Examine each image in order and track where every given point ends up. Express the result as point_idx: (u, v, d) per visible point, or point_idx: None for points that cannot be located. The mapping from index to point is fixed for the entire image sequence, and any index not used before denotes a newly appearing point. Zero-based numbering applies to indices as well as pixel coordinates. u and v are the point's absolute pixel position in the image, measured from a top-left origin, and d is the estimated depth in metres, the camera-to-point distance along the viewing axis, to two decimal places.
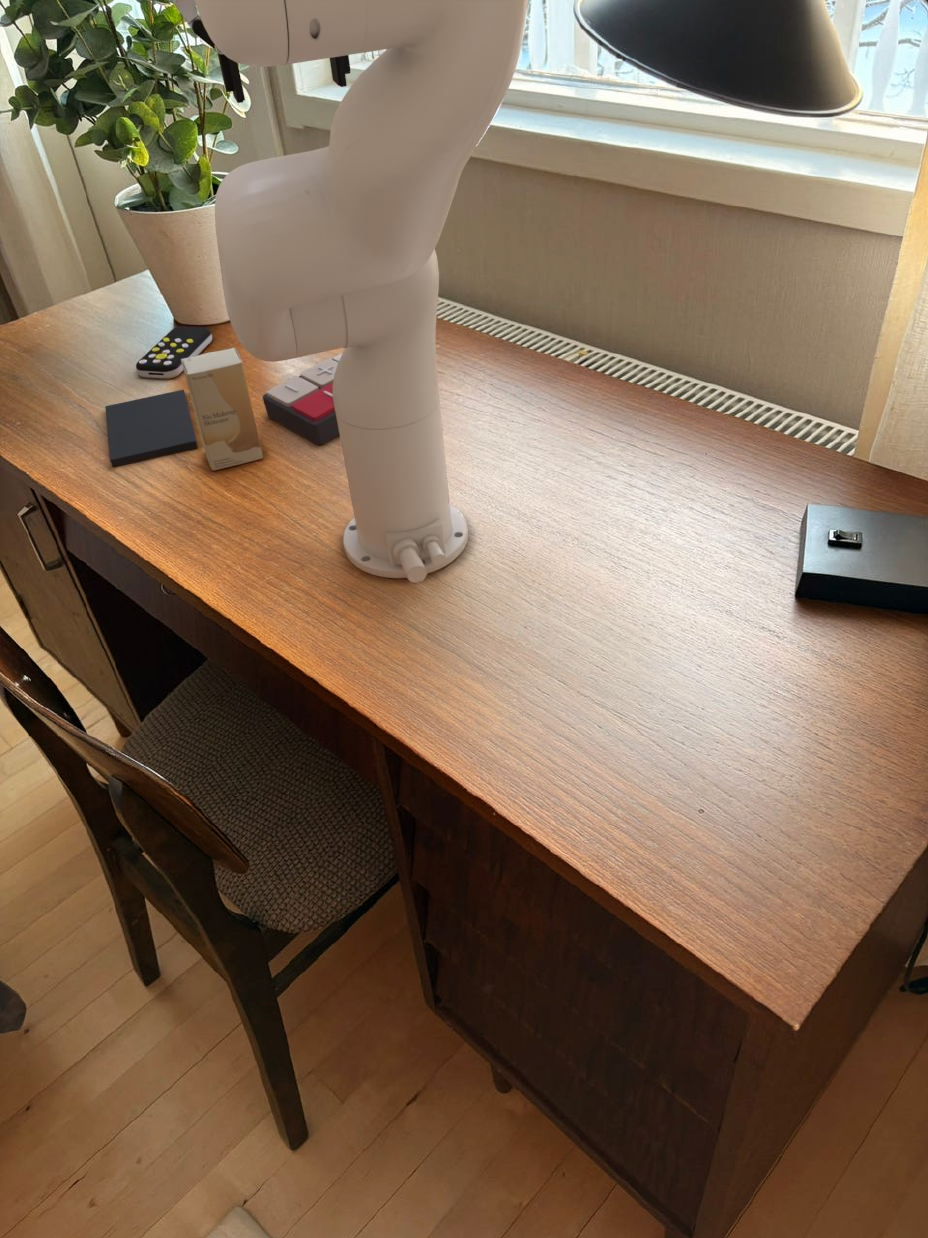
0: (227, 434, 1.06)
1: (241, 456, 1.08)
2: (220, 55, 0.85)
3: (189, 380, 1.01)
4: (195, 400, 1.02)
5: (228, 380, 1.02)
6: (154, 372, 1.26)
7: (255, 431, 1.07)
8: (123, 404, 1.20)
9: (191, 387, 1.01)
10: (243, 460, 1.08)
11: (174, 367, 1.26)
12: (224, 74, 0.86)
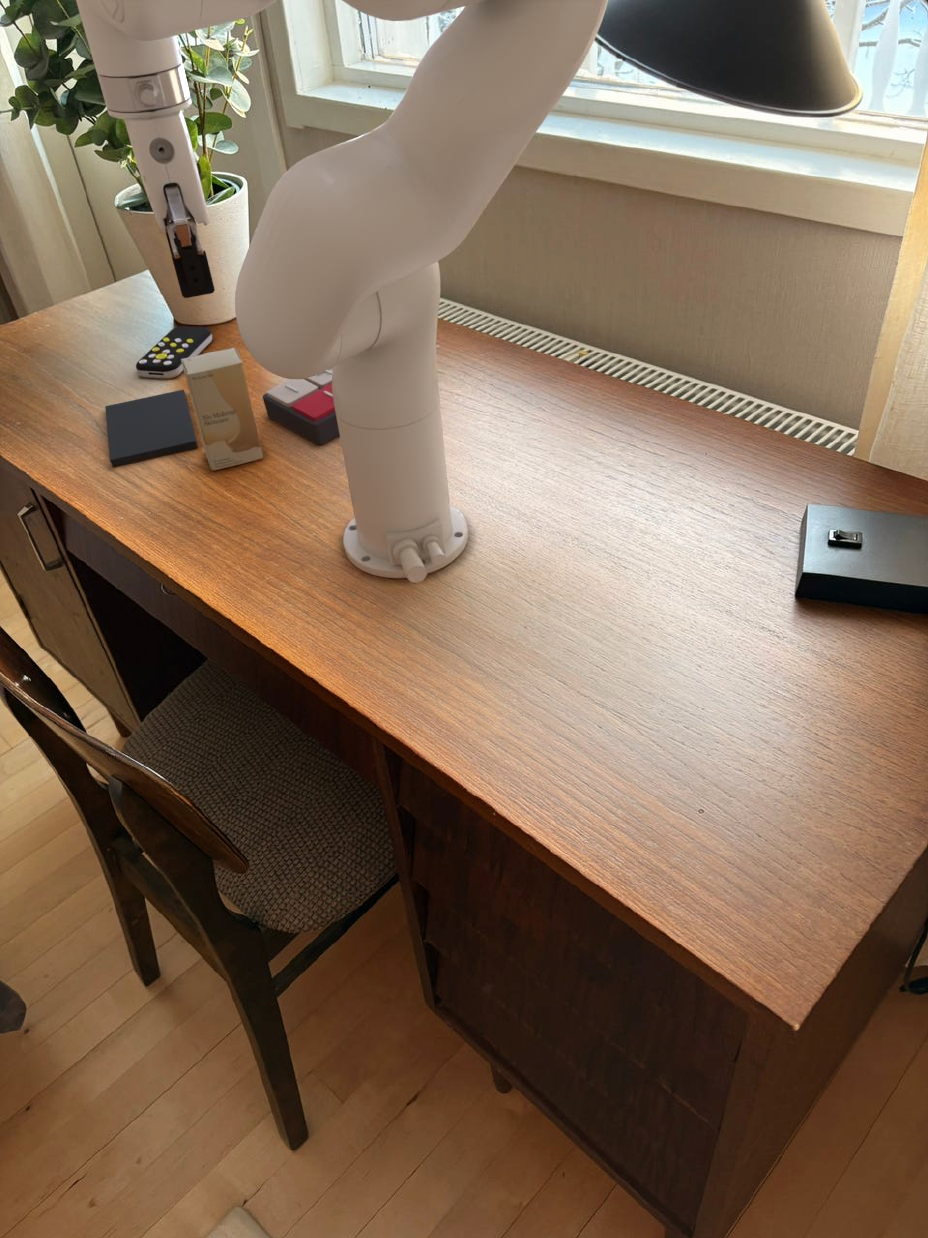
0: (227, 434, 1.06)
1: (241, 456, 1.08)
2: (198, 257, 0.90)
3: (189, 380, 1.01)
4: (195, 400, 1.02)
5: (228, 380, 1.02)
6: (154, 372, 1.26)
7: (255, 431, 1.07)
8: (123, 404, 1.20)
9: (191, 387, 1.01)
10: (243, 460, 1.08)
11: (174, 367, 1.26)
12: (202, 273, 0.91)
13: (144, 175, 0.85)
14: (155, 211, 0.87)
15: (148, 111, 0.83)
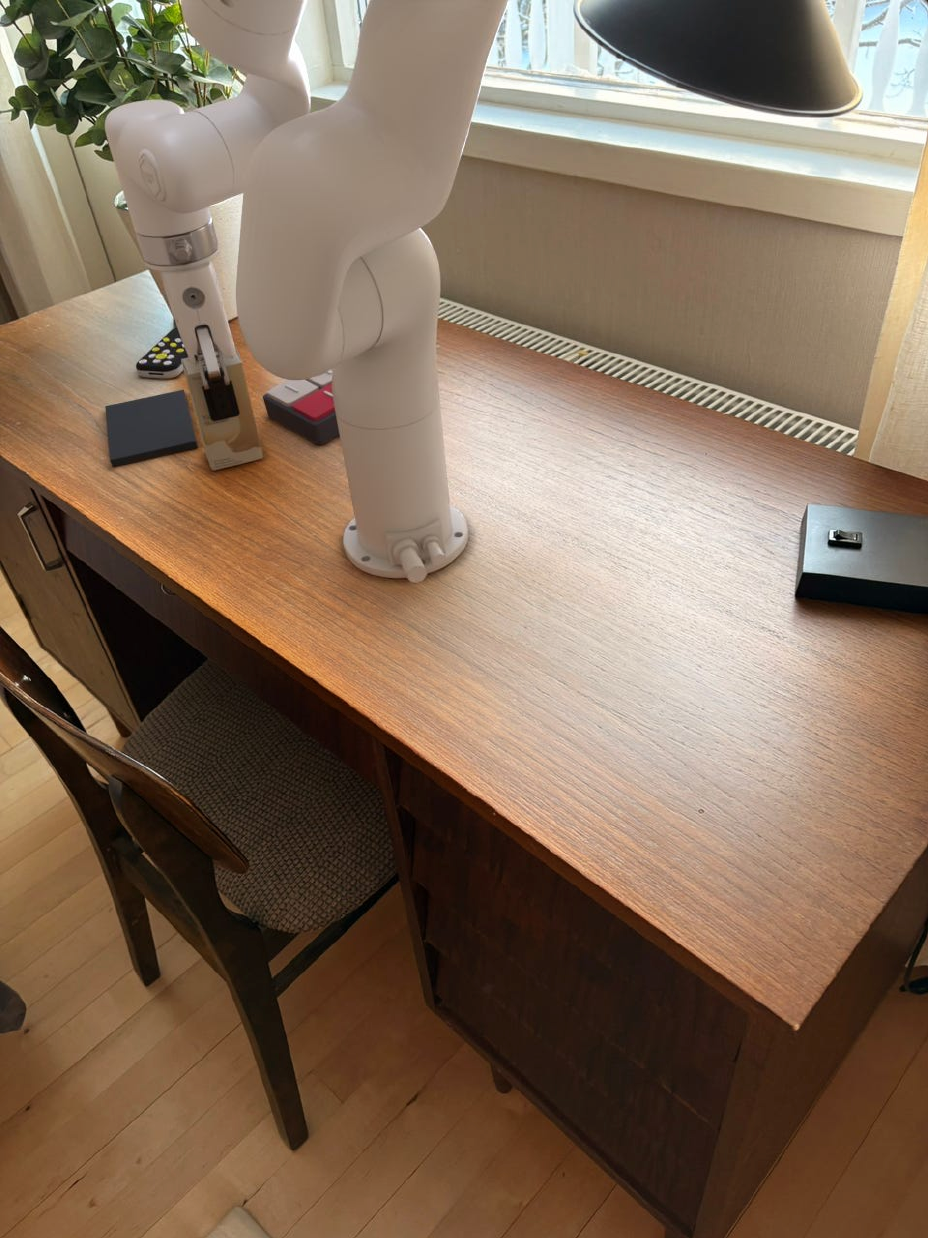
0: (227, 434, 1.06)
1: (241, 456, 1.08)
2: (225, 387, 1.01)
3: (189, 380, 1.01)
4: (195, 400, 1.02)
5: None
6: (154, 372, 1.26)
7: (255, 431, 1.07)
8: (123, 404, 1.20)
9: (191, 387, 1.01)
10: (243, 460, 1.08)
11: (174, 367, 1.26)
12: (228, 400, 1.02)
13: (177, 319, 0.94)
14: (187, 349, 0.96)
15: (181, 264, 0.92)
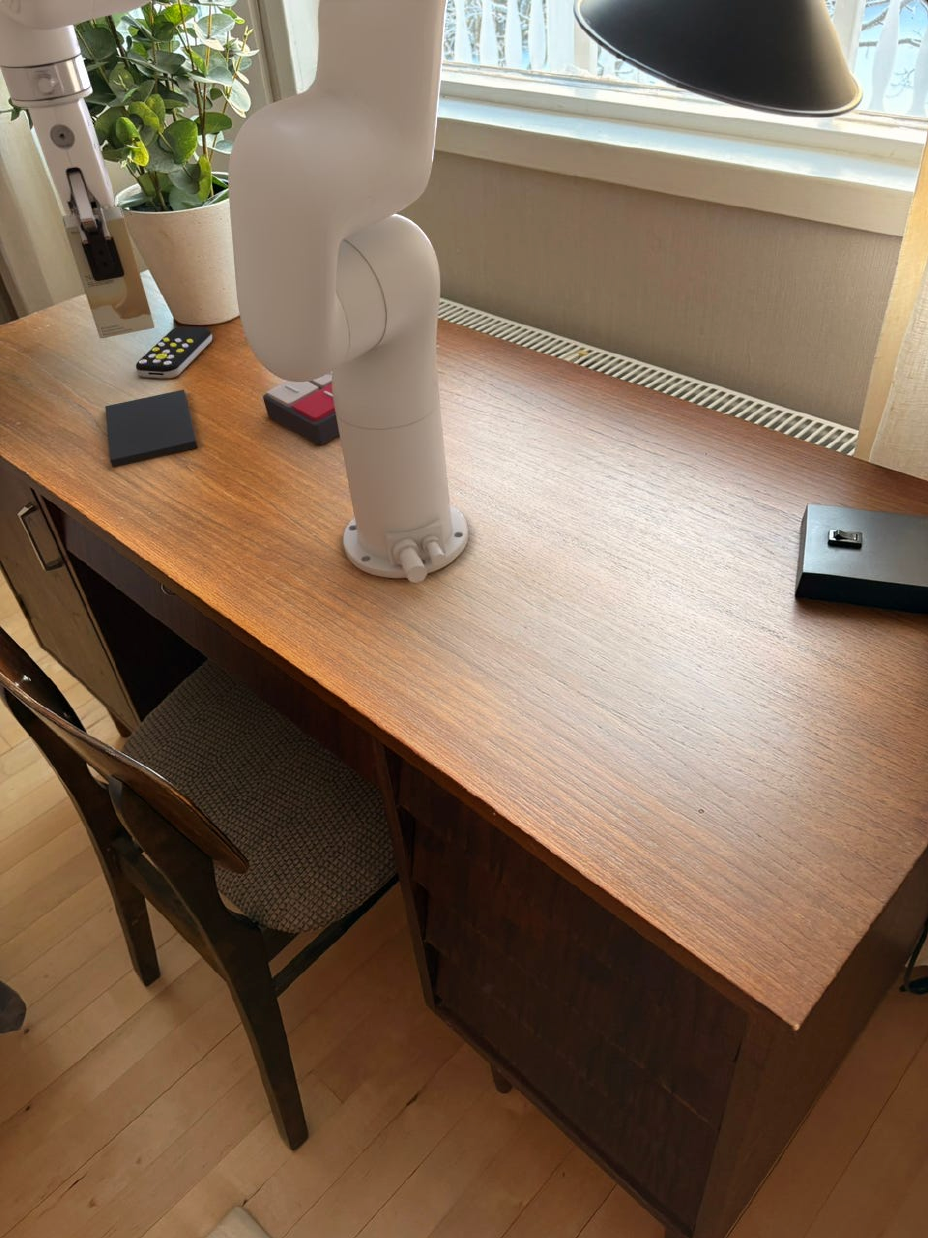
0: (114, 298, 1.02)
1: (131, 324, 1.04)
2: (106, 243, 0.97)
3: (68, 234, 0.97)
4: (76, 257, 0.98)
5: None
6: (154, 372, 1.26)
7: (144, 296, 1.03)
8: (123, 404, 1.20)
9: (71, 242, 0.97)
10: (133, 328, 1.05)
11: (174, 367, 1.26)
12: (110, 257, 0.98)
13: (47, 160, 0.90)
14: (59, 195, 0.92)
15: (48, 99, 0.88)
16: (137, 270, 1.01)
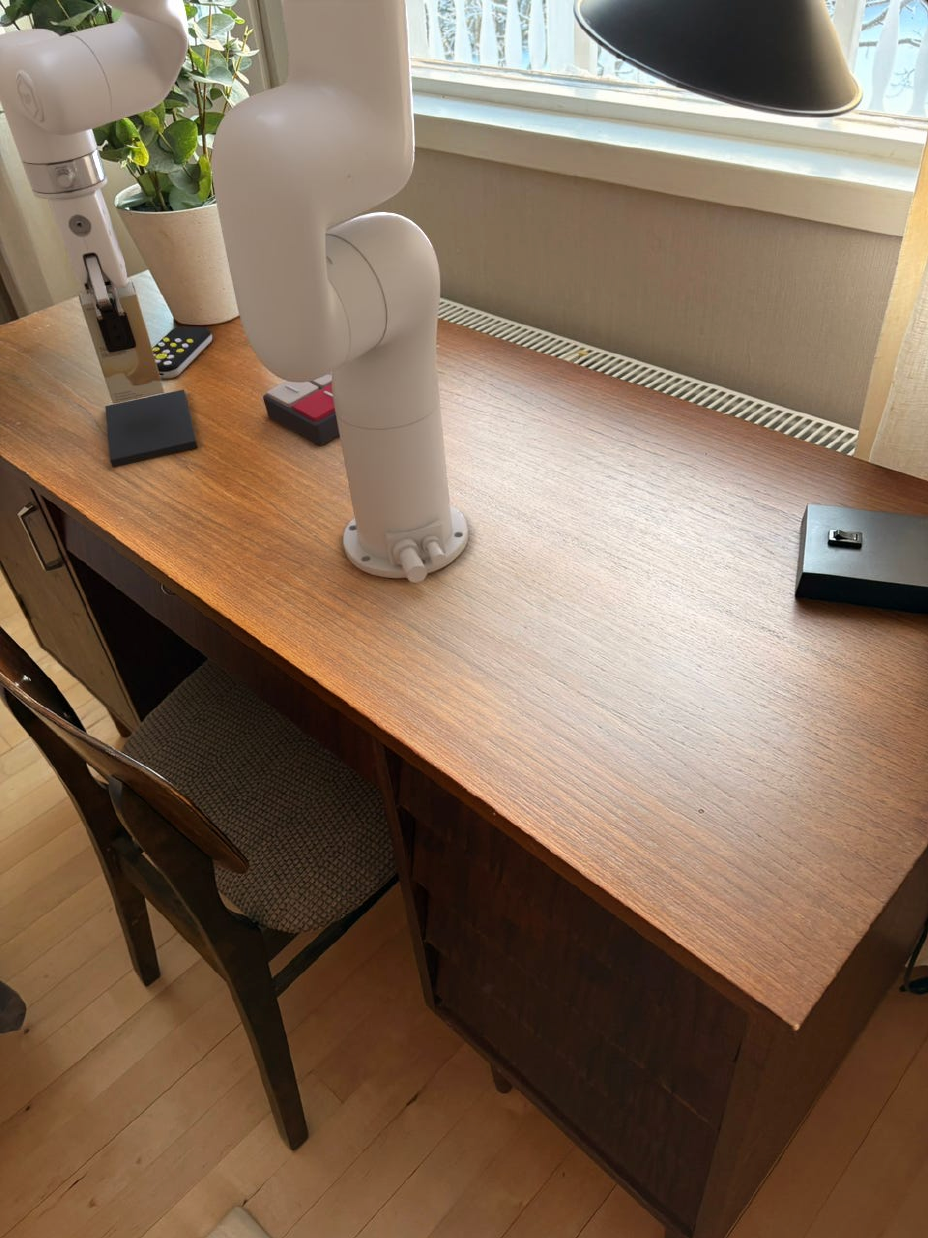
0: (126, 367, 1.09)
1: (142, 390, 1.11)
2: (119, 318, 1.04)
3: (84, 311, 1.03)
4: (91, 331, 1.05)
5: None
6: None
7: (154, 364, 1.10)
8: (123, 404, 1.20)
9: (86, 318, 1.04)
10: (144, 394, 1.11)
11: (174, 367, 1.26)
12: (123, 331, 1.05)
13: (65, 246, 0.97)
14: (77, 277, 0.99)
15: (66, 192, 0.95)
16: (148, 341, 1.08)
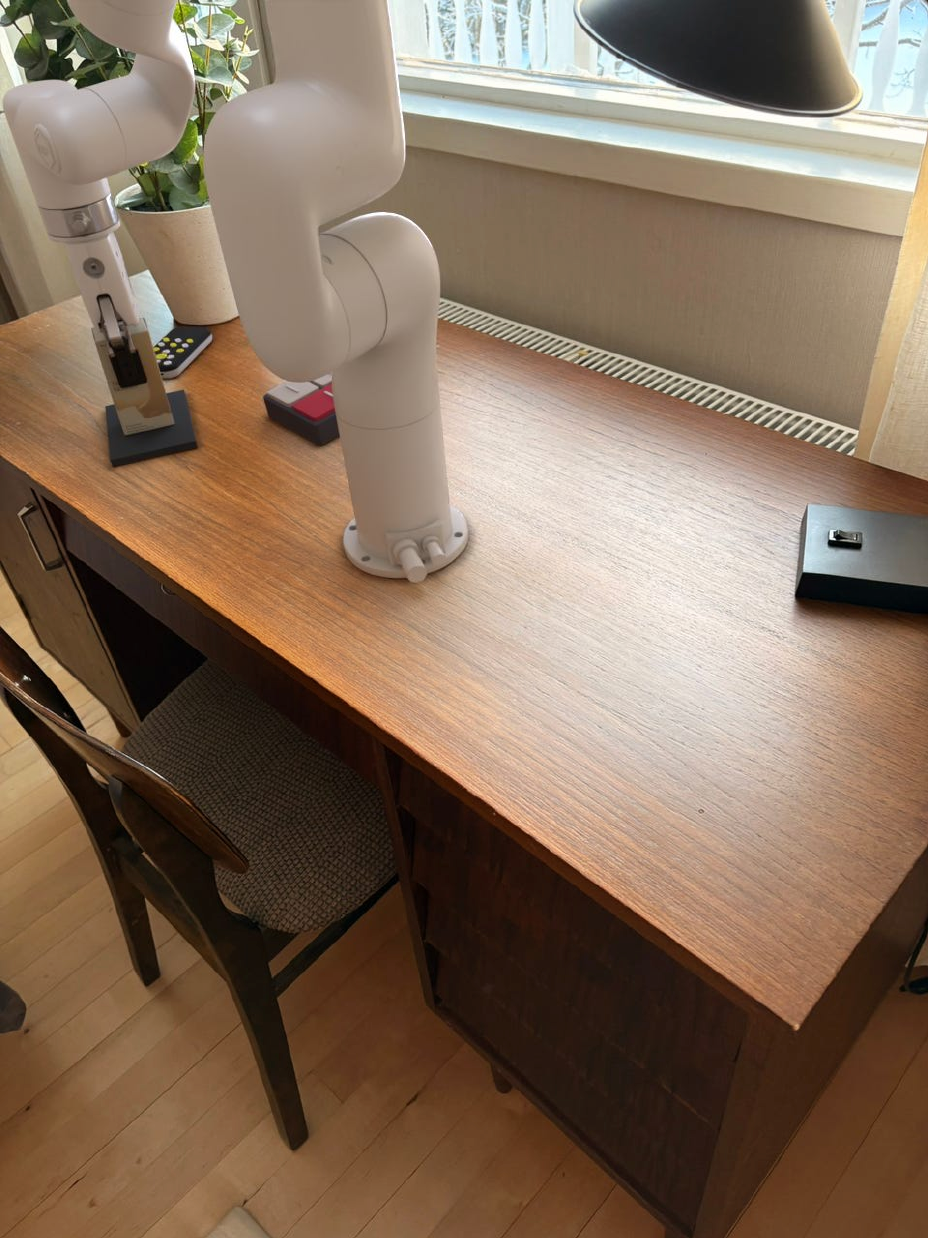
0: (138, 400, 1.11)
1: (153, 422, 1.14)
2: (131, 355, 1.06)
3: (97, 347, 1.06)
4: (104, 367, 1.08)
5: (135, 348, 1.08)
6: None
7: (165, 397, 1.12)
8: None
9: (99, 354, 1.07)
10: (154, 425, 1.14)
11: (174, 367, 1.26)
12: (135, 368, 1.07)
13: (79, 288, 1.00)
14: (90, 317, 1.02)
15: (81, 236, 0.97)
16: (159, 375, 1.11)
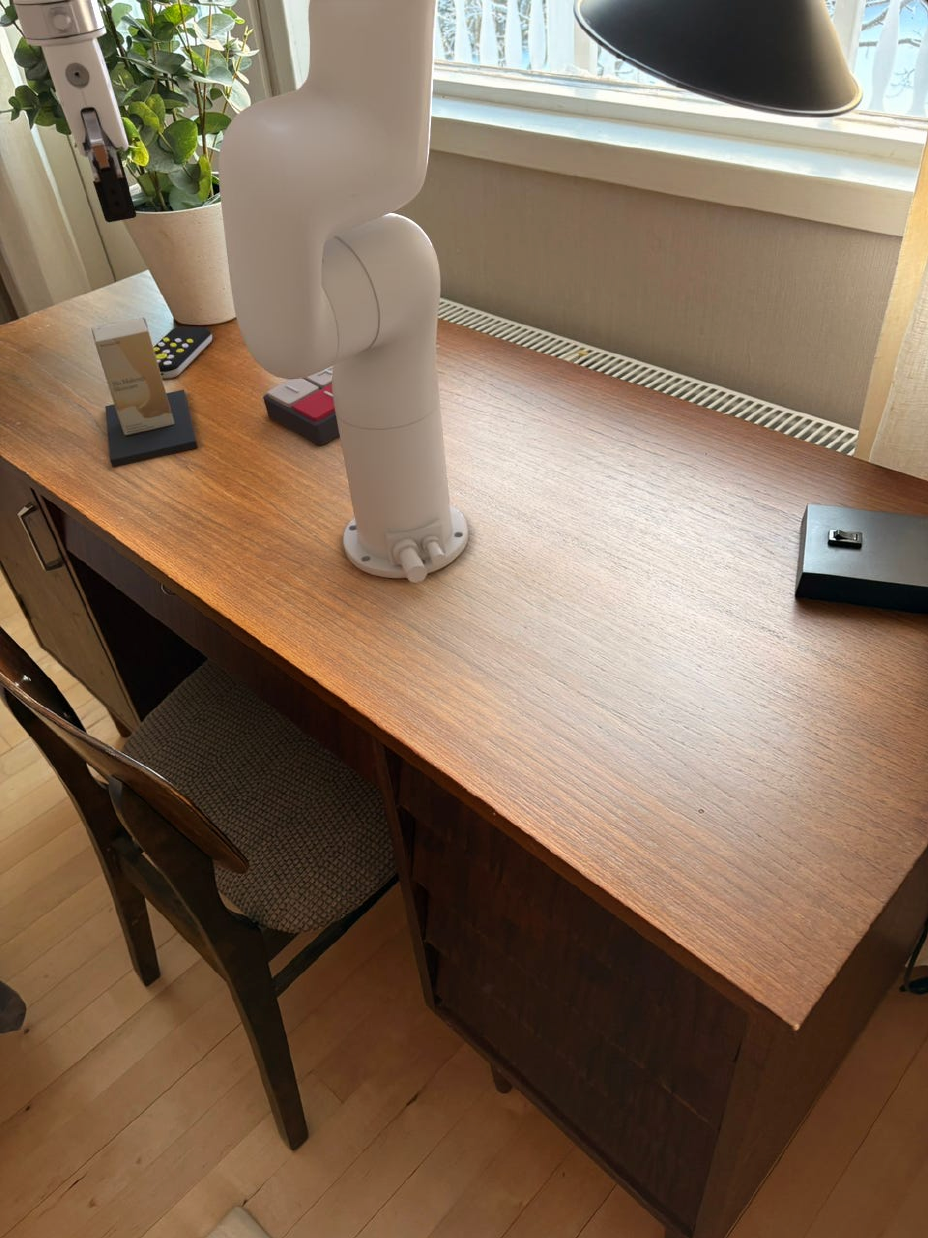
0: (138, 400, 1.11)
1: (153, 422, 1.14)
2: (118, 181, 0.95)
3: (97, 347, 1.06)
4: (104, 366, 1.08)
5: (136, 348, 1.08)
6: None
7: (165, 397, 1.12)
8: None
9: (99, 354, 1.07)
10: (154, 425, 1.14)
11: (174, 367, 1.26)
12: (122, 196, 0.96)
13: (62, 100, 0.90)
14: (74, 135, 0.92)
15: (63, 37, 0.88)
16: (159, 375, 1.11)
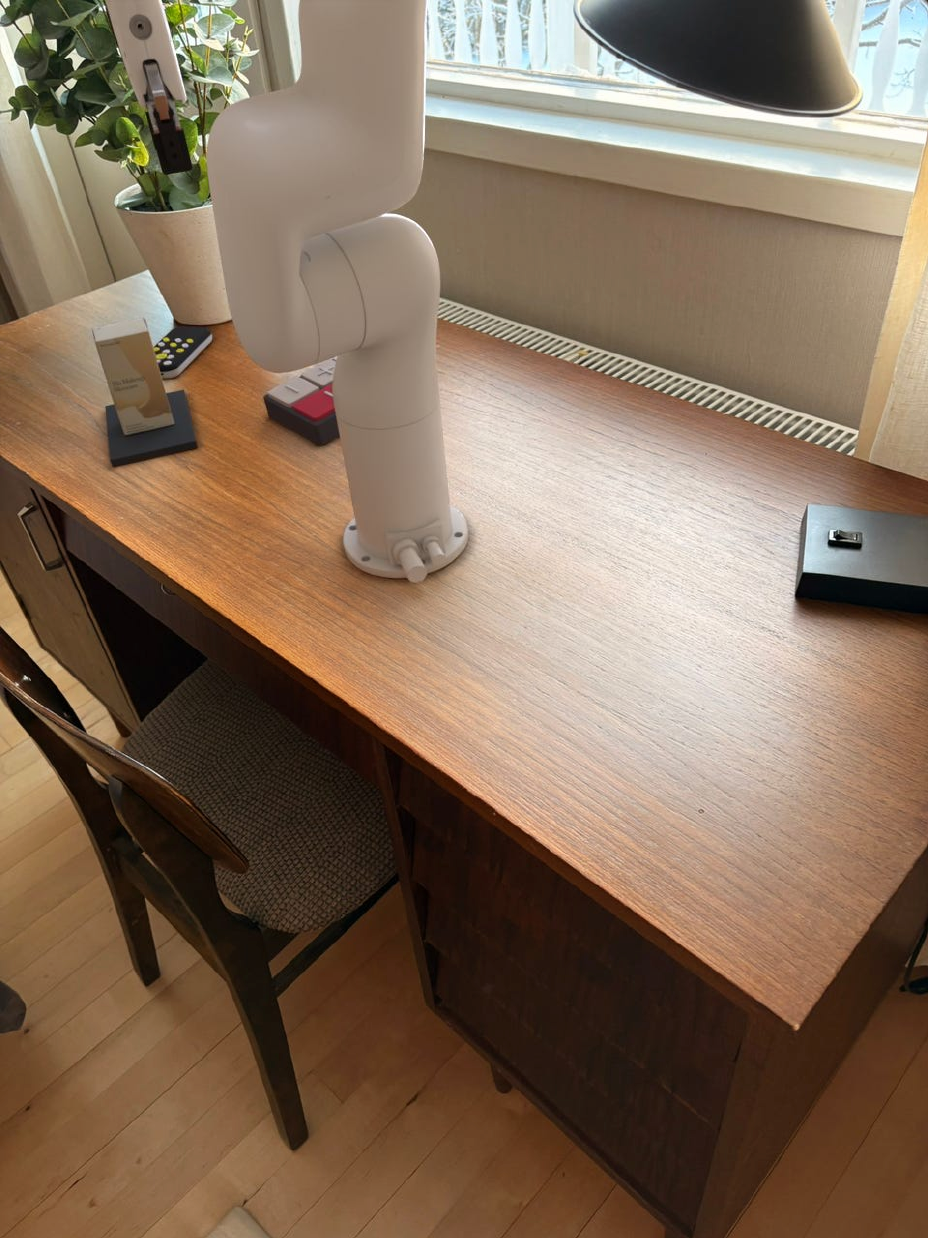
0: (138, 400, 1.11)
1: (153, 422, 1.14)
2: (176, 133, 0.97)
3: (97, 347, 1.06)
4: (104, 366, 1.08)
5: (136, 348, 1.08)
6: None
7: (165, 397, 1.12)
8: None
9: (99, 354, 1.07)
10: (154, 425, 1.14)
11: (174, 367, 1.26)
12: (180, 149, 0.98)
13: (125, 51, 0.92)
14: (135, 87, 0.94)
15: None
16: (159, 375, 1.11)
